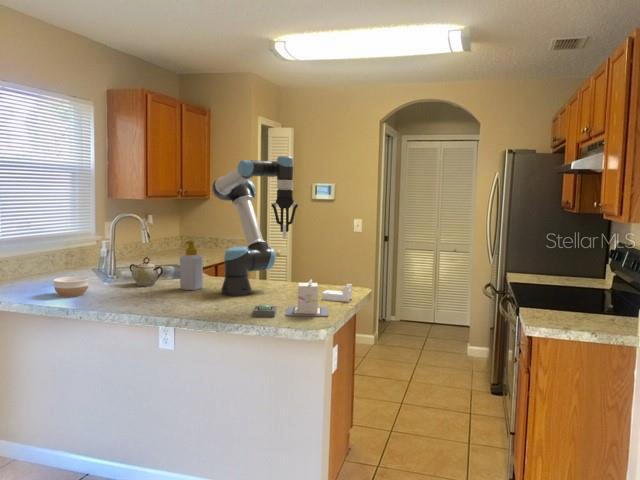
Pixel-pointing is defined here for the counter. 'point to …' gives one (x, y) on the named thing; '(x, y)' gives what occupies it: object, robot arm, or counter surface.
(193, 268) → the soap bottle
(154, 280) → the sugar bowl
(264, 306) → the button
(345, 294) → the bracket
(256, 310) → the button housing
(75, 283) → the bowl
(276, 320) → the counter surface
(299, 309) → the ink box
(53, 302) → the counter surface
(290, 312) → the clipboard
